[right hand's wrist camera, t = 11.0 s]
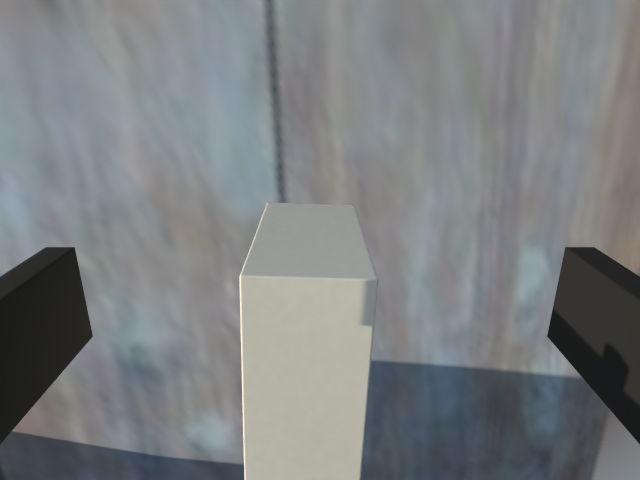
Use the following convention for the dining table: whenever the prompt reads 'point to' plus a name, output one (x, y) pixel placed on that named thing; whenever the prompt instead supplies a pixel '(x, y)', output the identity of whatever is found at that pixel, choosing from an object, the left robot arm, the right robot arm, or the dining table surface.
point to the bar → (306, 343)
